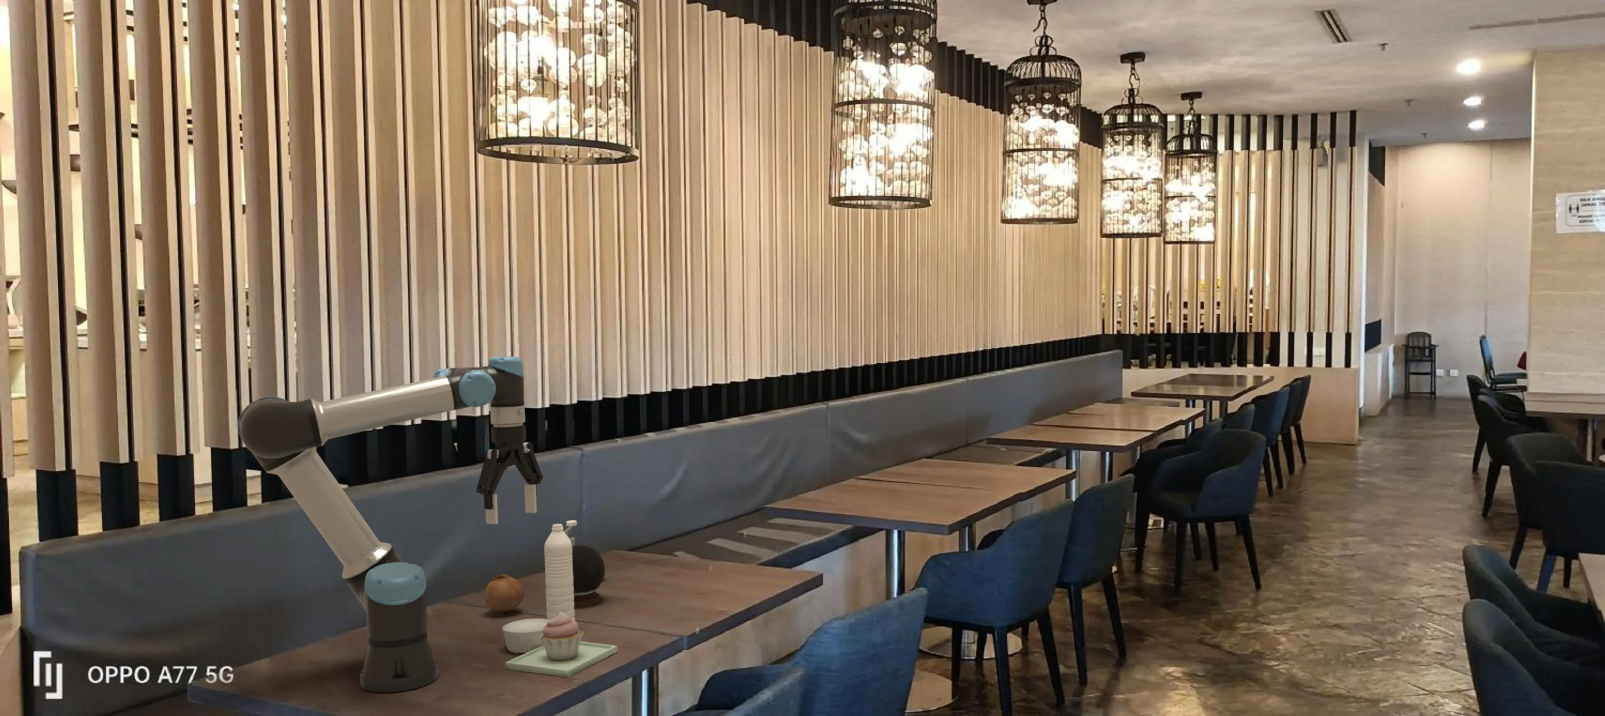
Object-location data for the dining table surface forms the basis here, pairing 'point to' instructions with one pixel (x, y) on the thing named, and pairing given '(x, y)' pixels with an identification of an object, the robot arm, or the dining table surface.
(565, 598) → the water bottle
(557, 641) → the cupcake
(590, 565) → the black ball on stand
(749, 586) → the dining table surface
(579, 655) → the tray
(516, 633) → the ramekin
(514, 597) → the onion
